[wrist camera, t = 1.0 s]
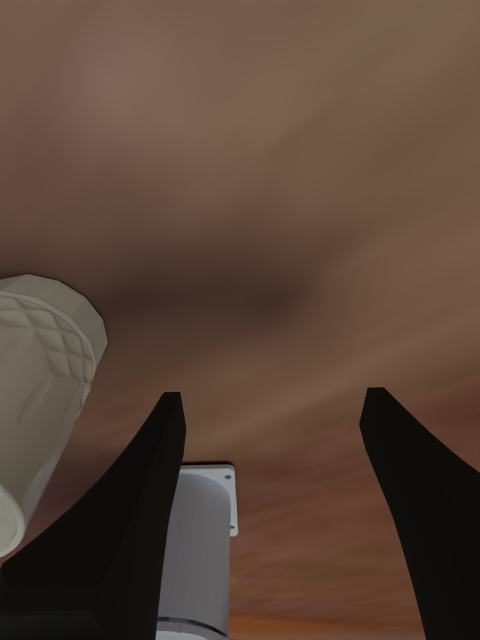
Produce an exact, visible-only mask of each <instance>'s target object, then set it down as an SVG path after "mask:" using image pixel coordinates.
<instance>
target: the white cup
mask: <svg viewBox="0 0 480 640" xmlns="http://www.w3.org/2000/svg"><path fill="white" fill-rule="evenodd" d="M107 344H108V340H107V336H106V331H105V326H104V322H103V319H102V318H101V316H100V315H99V314H98V313H97V311H96V310H95V309H94V307H93V306H92V305H91V304H90V302H89V301H88V300H87V298H86V297H84V296H83V295H81V294H79V293H78V292H76V291H75V290H73V289H71V288H70V287H68V286H66V285H65V284H63V283H62V282H60V281H58V280H53V279H48V278H44V277H39V276H35V275H30V274H25V275H20V276H15V277H10V278H5V279H0V557H2V556H4V555H6V554H8V553H9V552H11V551H12V550H14V549H15V548H16V547H17V546H18V545H19V543H20V542H21V540H22V539H23V537H24V534H25V532H26V530H27V528H28V526H29V523H30V521H31V519H32V517H33V515H34V513H35V510H36V508H37V506H38V504H39V502H40V500H41V497H42V495H43V493H44V491H45V489H46V487H47V484H48V482H49V480H50V478H51V476H52V474H53V472H54V469H55V467H56V465H57V463H58V461H59V459H60V457H61V455H62V452H63V450H64V448H65V446H66V444H67V442H68V440H69V438H70V436H71V434H72V431H73V428H74V425H75V422H76V420H77V418H78V416H79V414H80V412H81V410H82V408H83V405H84V403H85V400H86V398H87V396H88V394H89V392H90V389H91V387H92V381H93V377H94V375H95V373H96V371H97V369H98V367H99V365H100V363H101V360H102V358H103V355H104V352H105V350H106V347H107Z"/></svg>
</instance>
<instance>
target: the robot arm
mask: <svg viewBox="0 0 480 640" xmlns="http://www.w3.org/2000/svg"><path fill="white" fill-rule="evenodd" d="M359 426H360V430H361V434H362V438H363V441H364V445H365V448H366V451H367V454H368V457H369V459H370V462H371V464H372V467H373V469H374V471H375V474H376V476H377V479H378V481H379V484H380V486H381V489H382V491H383V494H384V496H385V498H386V501H387V503H388V506H389V508H390V511H391V514H392V516H393V519H394V522H395V525H396V529H397V532H398V535H399V539H400V542H401V545H402V549H403V552H404V556H405V559H406V563H407V566H408V570H409V573H410V577H411V580H412V584H413V588H414V592H415V596H416V600H417V604H418V608H419V611H420V615H421V620H422V624H423V628H424V632H425V637H426V640H480V473H479V472H478V471H476V470H475V469H474V468H472V467H471V466H470V465H468V464H467V463H466V462H465V461H463V460H462V459H461V458H459V457H458V456H457V455H456V454H455V453H453V452H452V451H451V450H450V449H449V448H447V447H446V446H445V445H444V444H443V443H442V442H440V441H439V440H438V439H437V438H436V437H435V436H434V435H432V434H431V433H430V432H429V431H428V430H427V429H426V428H425V427H424V426H423V425H422V424H421V423H420V422H418V421H417V420H416V419H415V418H414V417H413V416H412V415H411V414H410V413H409V412H408V411H407V410H406V409H405V408H404V407H403V406H402V405H401V404H400V403H399V402H398V401H397V400H396V399H395V398H394V397H393V396H392V395H391V394H390V393H389V392H388V391H387V390H386V389H385V388H384V387H377V388H368V389H367V393H366V397H365V401H364V406H363V410H362V414H361V419H360V423H359ZM185 436H186V424H185V418H184V412H183V406H182V400H181V393H180V392H164V393H163V394H162V396H161V397H160V399H159V401H158V402H157V404H156V406H155V407H154V409H153V410H152V412H151V413H150V415H149V416H148V418H147V419H146V421H145V422H144V424H143V425H142V427H141V428H140V430H139V431H138V432H137V434H136V435H135V437H134V438H133V439H132V441H131V442H130V443H129V444H128V446H127V447H126V448H125V450H124V451H123V452H122V453H121V455H120V456H119V457H118V458H117V460H116V461H115V462H114V463H113V464H112V466H111V467H110V468H109V469H108V470H107V471H106V472H105V473H104V475H103V476H102V477H101V478H100V479H99V480H98V481H97V482H96V483H95V484H94V485H93V486H92V487H91V488H90V489H89V490H88V491H87V492H86V493H85V494H84V495H83V496H82V497H81V498H80V499H79V500H78V501H77V502H76V503H75V504H74V505H73V506H72V507H71V508H70V509H69V510H68V511H66V512H65V513H64V514H63V515H62V516H61V517H60V518H58V519H57V520H56V521H55V522H54V523H53V524H52V525H51V526H49V527H48V528H47V529H46V530H45V531H44V532H42V533H41V534H40V535H39V536H38V537H36V538H35V539H34V540H32V541H31V542H30V543H29V544H27V545H26V546H25V547H24V548H22V549H21V550H20V551H19V552H17V553H16V554H15V555H13V556H12V557H11V558H10V559H8V560H7V561H5V562H4V563H3V564H2V566H1V568H0V640H237V639H233V638H228V621H229V620H228V619H229V572H230V536H236V535H237V534H238V520H237V503H236V487H235V470H234V467H233V466H232V465H228V464H224V465H181V463H182V459H183V454H184V445H185Z"/></svg>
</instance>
